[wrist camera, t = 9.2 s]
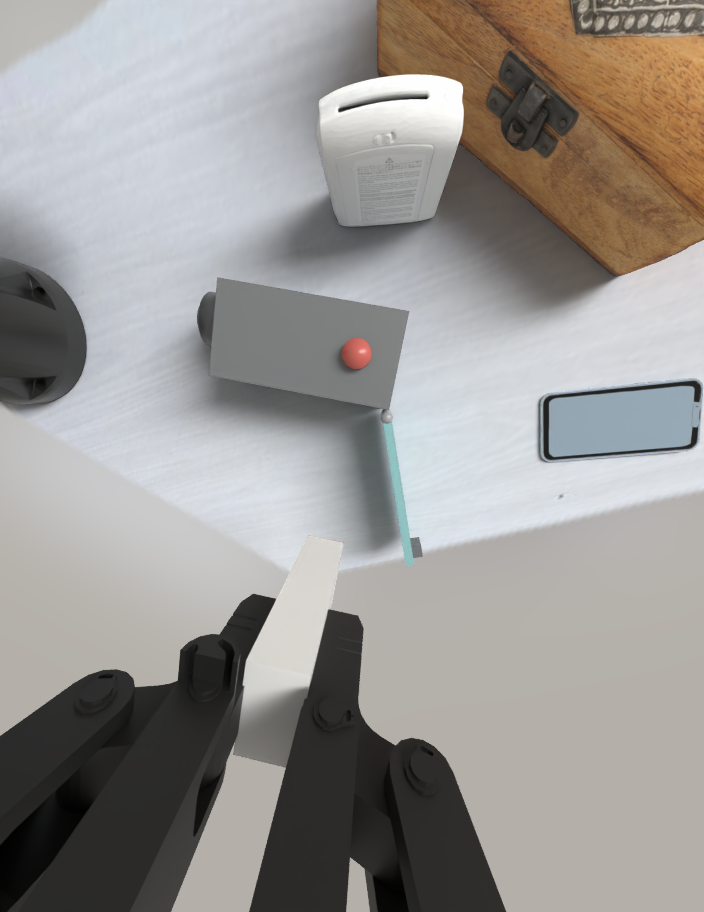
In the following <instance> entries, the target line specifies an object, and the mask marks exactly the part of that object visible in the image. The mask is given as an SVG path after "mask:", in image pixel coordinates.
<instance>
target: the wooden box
mask: <svg viewBox="0 0 704 912" xmlns="http://www.w3.org/2000/svg"><path fill="white" fill-rule="evenodd" d="M377 66H378V73H379V75H380V76H381V77H387V76H397V75H433V76H441V77H446V78H449V79H452V80H455V81H457V82H460V83H461V84H462V87H463V94H462V104H463V109H464V118H463V129H462V134H461V137H460V140H459V143H460V144H461V145H463V146H464V147H465V148H466V149H467V150H469V151H470V152H471V153H472V154H474V155H475V156H476V157H477V158H478V159H480V160H481V161H482V162H483V163H484V164H485V165H486V166H487V167H488V168H490V169H491V170H492V171H493V172H494V173H496V174H497V175H498V176H499V177H500V178H502V179H503V180H504V181H505V182H506V183H508V184H509V185H510V186H511V187H512V188H513V189H515V190H516V191H517V192H518V193H519V194H520V195H522V196H523V197H524V198H526V199H527V200H529V201H530V202H531V203H532V204H533V205H534V206H535V207H537V208H538V209H539V210H540V212H541V213H542V214H543V215H545V216H546V217H547V218H548V219H549V220H551V221H552V222H553V223H554V224H555V225H556V226H557V227H558V228H560V229H561V230H562V231H563V232H564V233H565V234H566V235H568V236H569V237H570V238H571V239H572V240H573V241H574V242H576V243H577V244H578V245H579V246H580V247H581V248H583V249H584V250H585V251H586V252H587V253H588V254H589V255H591V256H592V257H593V258H594V259H595V260H596V261H597V262H598V263H599V264H601V265H602V266H603V267H604V268H605V269H606V270H608V271H609V272H610V273H611V274H613V275H616V276H621V275H624V274H628V273H630V272H633V271H636V270H638V269H641V268H643V267H646V266H648V265H651V264H654V263H657V262H659V261H661V260H664V259H666V258H668V257H670V256H672V255H675V254H677V253H679V252H681V251H683V250H685V249H687V248H688V247H689V246H691V245H694V244H696V243H698V242H700V241H702V240H704V0H377Z"/></svg>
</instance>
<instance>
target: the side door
mask: <svg viewBox="0 0 704 912" xmlns="http://www.w3.org/2000/svg"><path fill="white" fill-rule="evenodd" d="M381 420H382V422H383V426H384V432H385V439H386V445H387V451H388V457H389V464H390V470H391V476H392V482H393V489H394V495H395V501H396V507H397V514H398V520H399V526H400V532H401V539H402V545H403V551H404V557H405V564H406V566H412V565H414V561H413V558H416V557H422V549H421V544H420V540H419V537H417V538H410V535H409V528H408V522H407V515H406V509H405V503H404V496H403V490H402V483H401V477H400V470H399V464H398V457H397V451H396V445H395V438H394V432H393V425H392V414H391V412H390V410H387V409H383V410H382V412H381Z"/></svg>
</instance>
